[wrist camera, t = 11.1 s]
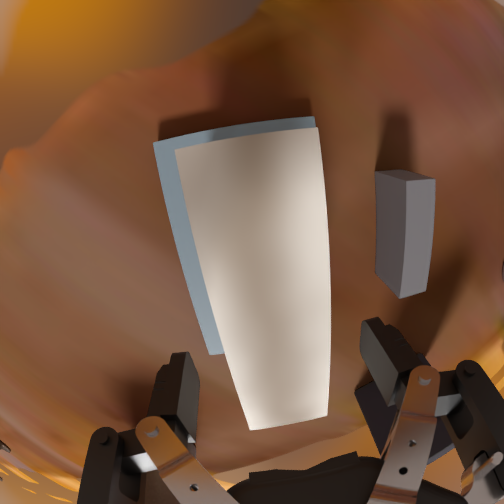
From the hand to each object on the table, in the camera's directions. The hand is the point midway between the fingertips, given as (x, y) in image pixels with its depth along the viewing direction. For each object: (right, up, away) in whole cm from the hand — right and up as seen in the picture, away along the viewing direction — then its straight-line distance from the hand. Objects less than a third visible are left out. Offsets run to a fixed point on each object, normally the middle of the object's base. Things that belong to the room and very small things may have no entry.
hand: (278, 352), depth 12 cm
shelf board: (0, +2, +4) cm, 4 cm away
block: (+12, +7, +12) cm, 18 cm away
